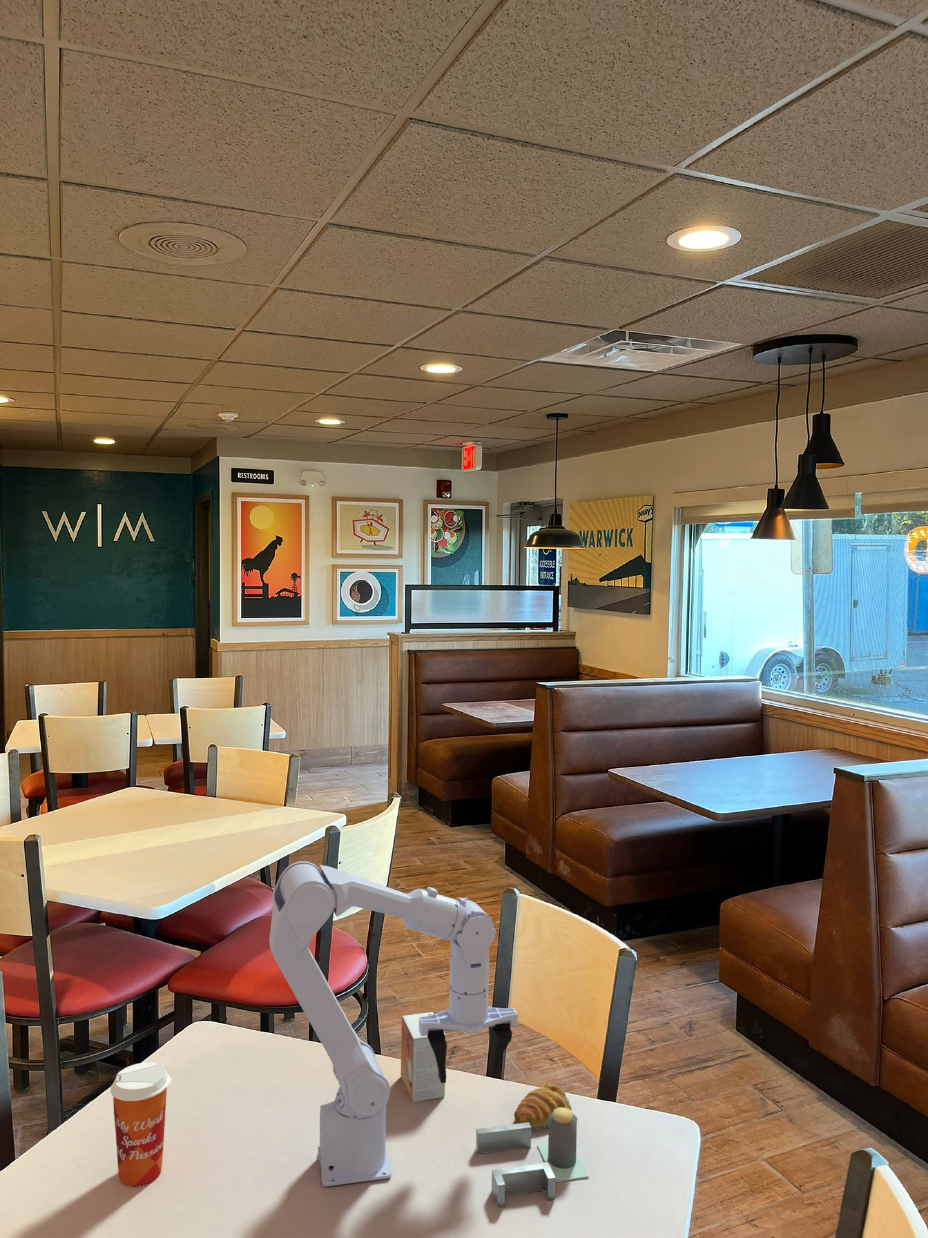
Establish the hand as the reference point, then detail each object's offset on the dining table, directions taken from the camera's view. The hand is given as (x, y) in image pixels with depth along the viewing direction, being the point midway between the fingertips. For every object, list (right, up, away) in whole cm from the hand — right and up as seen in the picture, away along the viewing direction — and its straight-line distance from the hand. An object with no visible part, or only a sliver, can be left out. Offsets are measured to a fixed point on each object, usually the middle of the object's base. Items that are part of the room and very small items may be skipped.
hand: (467, 1076), depth 131 cm
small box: (-7, -10, +15) cm, 19 cm away
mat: (+14, -10, -4) cm, 17 cm away
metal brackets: (+6, -10, -5) cm, 13 cm away
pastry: (+12, -10, +7) cm, 17 cm away
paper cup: (-45, -10, -8) cm, 47 cm away
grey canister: (+14, -10, -4) cm, 17 cm away
